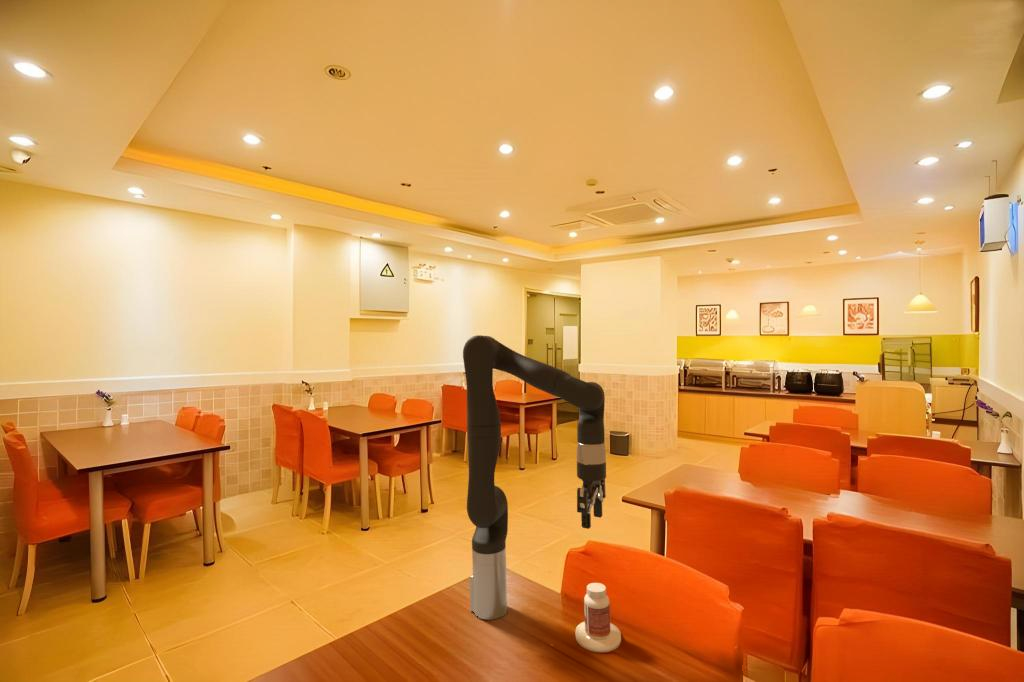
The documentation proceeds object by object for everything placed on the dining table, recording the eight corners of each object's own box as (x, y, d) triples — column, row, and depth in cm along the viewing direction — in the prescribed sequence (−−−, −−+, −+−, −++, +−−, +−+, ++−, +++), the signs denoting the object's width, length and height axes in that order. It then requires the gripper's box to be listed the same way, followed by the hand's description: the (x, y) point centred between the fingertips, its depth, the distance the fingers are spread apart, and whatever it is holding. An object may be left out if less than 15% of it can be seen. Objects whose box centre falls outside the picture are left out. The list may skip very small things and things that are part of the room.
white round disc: (568, 643, 111) (568, 638, 111) (584, 620, 121) (584, 615, 121) (613, 657, 106) (613, 652, 106) (626, 631, 116) (626, 626, 116)
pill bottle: (615, 634, 113) (614, 588, 113) (597, 643, 109) (596, 596, 110) (597, 622, 118) (596, 578, 118) (579, 630, 114) (578, 585, 115)
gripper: (587, 452, 128) (588, 511, 128) (566, 463, 116) (567, 529, 116) (614, 455, 124) (615, 515, 124) (595, 467, 112) (596, 534, 112)
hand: (592, 522), depth 120 cm, fingers open, 8 cm apart
